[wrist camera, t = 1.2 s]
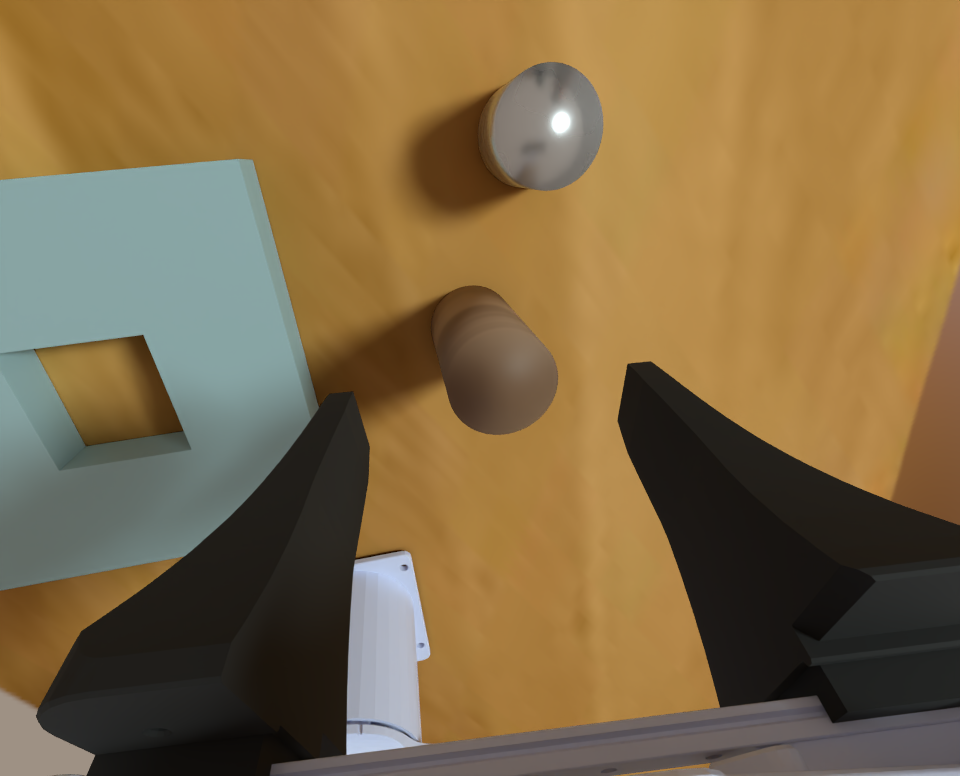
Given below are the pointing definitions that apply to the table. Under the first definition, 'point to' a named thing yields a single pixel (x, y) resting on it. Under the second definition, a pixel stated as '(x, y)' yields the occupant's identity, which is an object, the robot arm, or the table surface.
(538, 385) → the walnut pin
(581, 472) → the table surface
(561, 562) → the table surface
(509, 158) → the grey round piece
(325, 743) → the robot arm
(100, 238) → the hole board
